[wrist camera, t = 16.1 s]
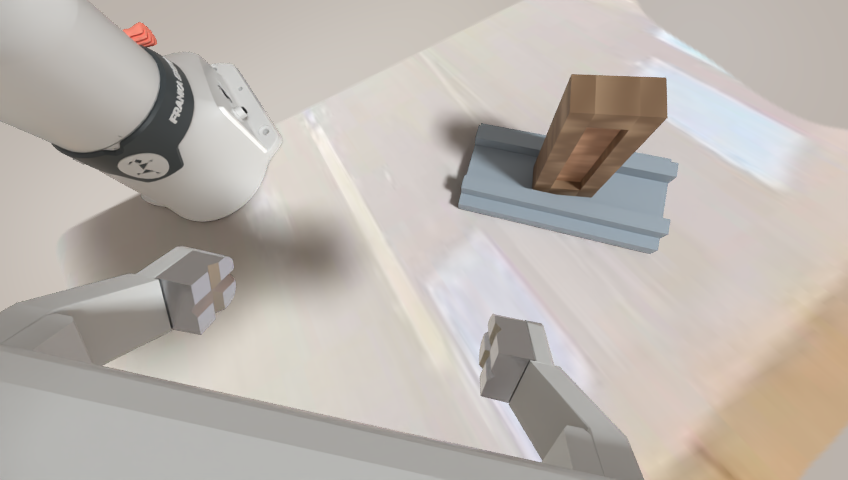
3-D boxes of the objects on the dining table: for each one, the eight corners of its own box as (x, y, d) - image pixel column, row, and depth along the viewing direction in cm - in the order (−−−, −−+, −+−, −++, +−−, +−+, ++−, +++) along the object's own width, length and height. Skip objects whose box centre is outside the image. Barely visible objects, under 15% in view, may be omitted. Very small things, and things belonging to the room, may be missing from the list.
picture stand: (458, 208, 39) (457, 198, 36) (480, 130, 41) (481, 115, 38) (649, 253, 35) (666, 246, 32) (663, 165, 37) (680, 152, 34)
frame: (531, 192, 37) (569, 112, 23) (533, 166, 37) (571, 74, 24) (591, 197, 36) (667, 117, 22) (592, 171, 36) (666, 77, 23)
